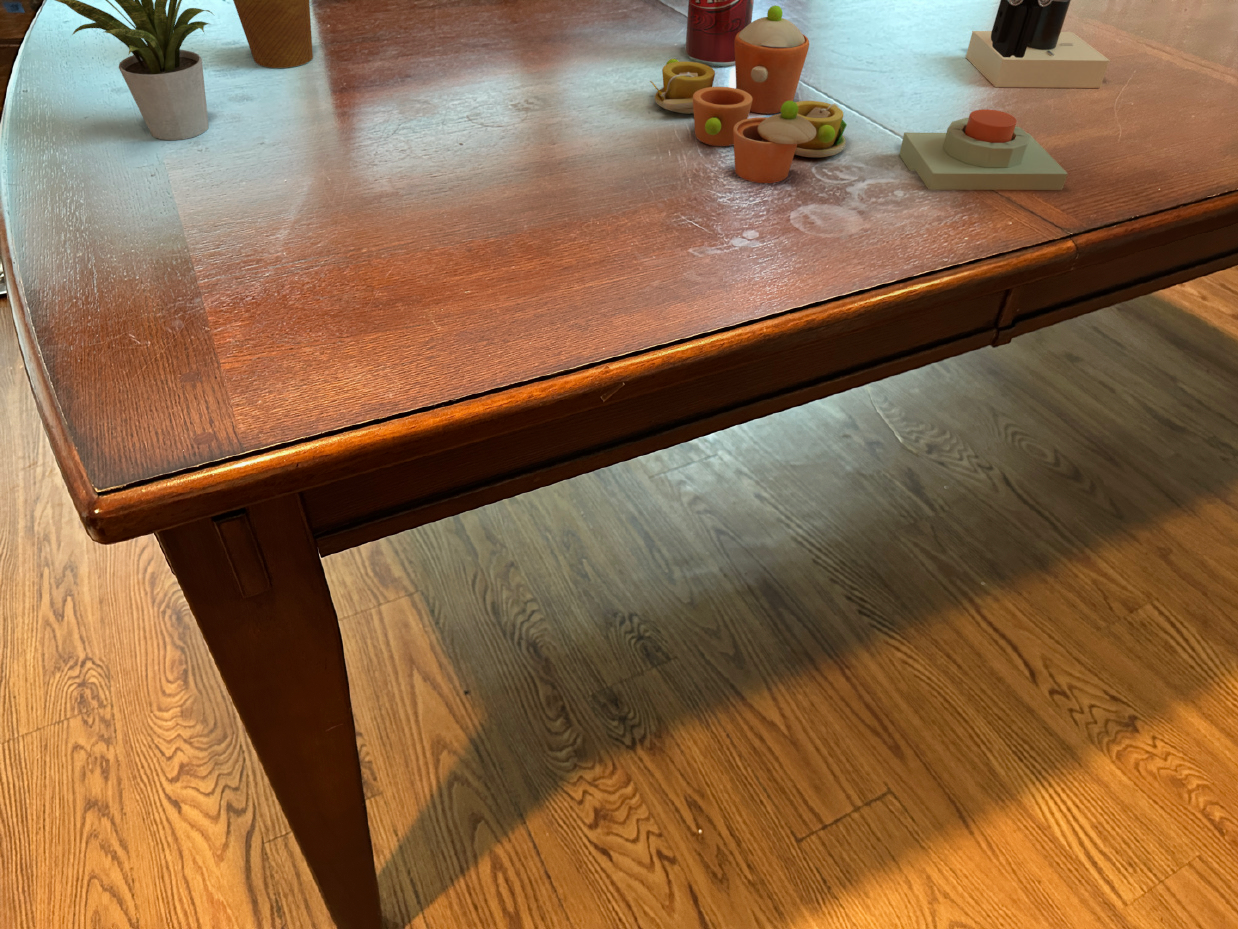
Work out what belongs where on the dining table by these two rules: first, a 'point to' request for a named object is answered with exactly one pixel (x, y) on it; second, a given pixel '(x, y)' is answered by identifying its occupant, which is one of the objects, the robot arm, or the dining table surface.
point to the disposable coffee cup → (277, 31)
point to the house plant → (158, 63)
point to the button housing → (980, 161)
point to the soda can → (715, 29)
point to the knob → (1050, 25)
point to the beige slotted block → (1040, 64)
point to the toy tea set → (757, 102)
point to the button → (990, 126)
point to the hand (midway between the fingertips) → (1007, 51)
